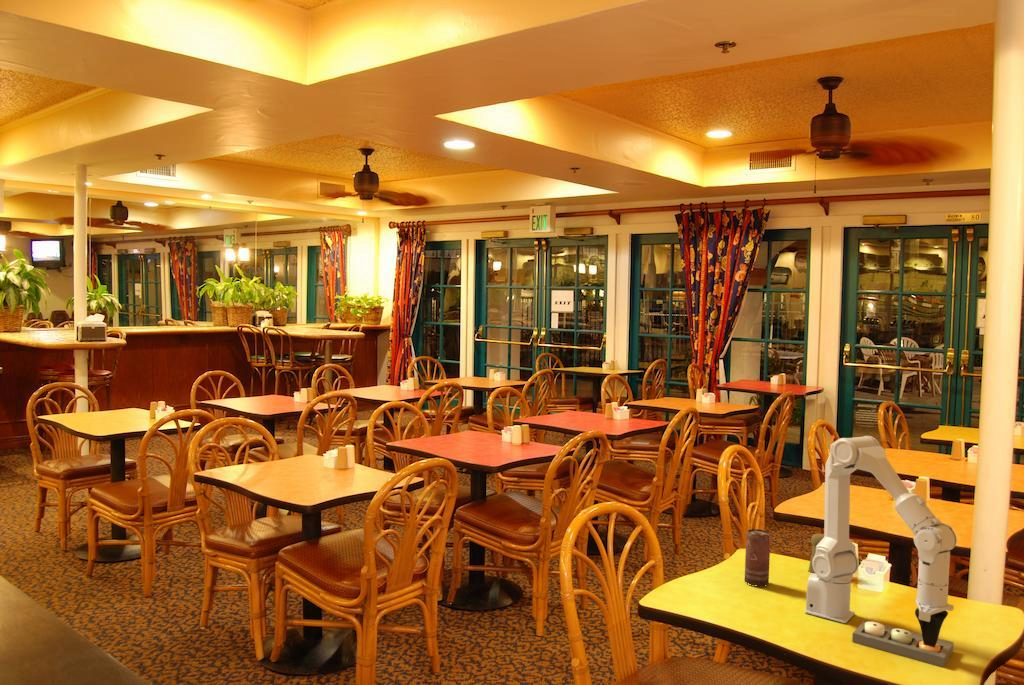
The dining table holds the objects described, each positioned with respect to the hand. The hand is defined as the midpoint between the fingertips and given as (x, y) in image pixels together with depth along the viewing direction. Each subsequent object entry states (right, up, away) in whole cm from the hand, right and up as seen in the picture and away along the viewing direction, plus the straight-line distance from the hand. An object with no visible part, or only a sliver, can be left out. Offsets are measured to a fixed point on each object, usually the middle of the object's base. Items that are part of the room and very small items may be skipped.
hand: (929, 644), depth 165 cm
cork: (-3, 0, +51) cm, 51 cm away
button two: (-4, -1, +4) cm, 6 cm away
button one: (-9, -1, +7) cm, 11 cm away
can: (-24, 0, +41) cm, 48 cm away
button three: (0, -2, 0) cm, 2 cm away
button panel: (-4, -2, +4) cm, 6 cm away
